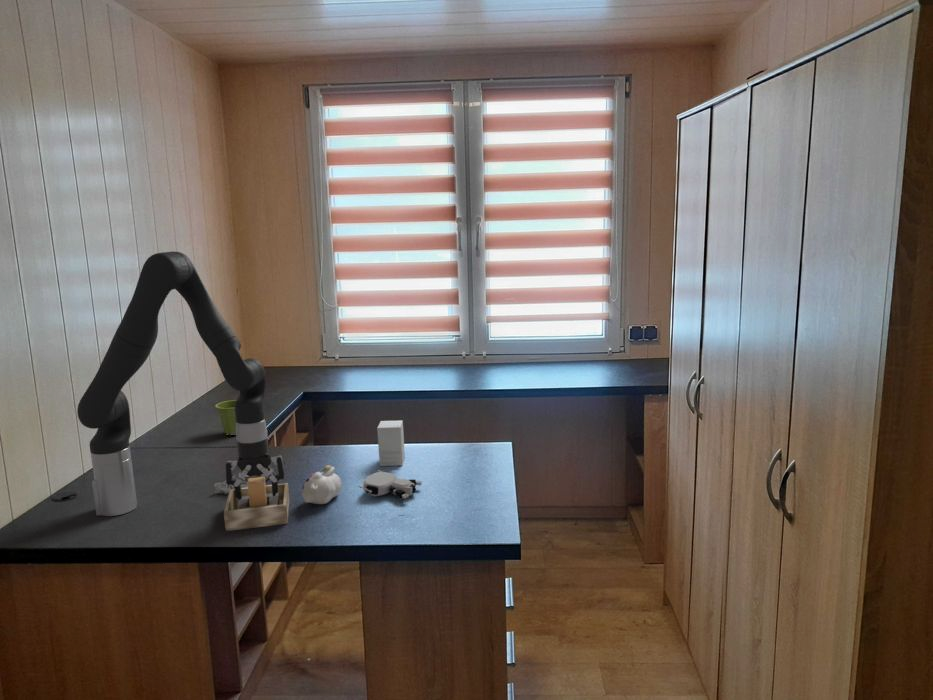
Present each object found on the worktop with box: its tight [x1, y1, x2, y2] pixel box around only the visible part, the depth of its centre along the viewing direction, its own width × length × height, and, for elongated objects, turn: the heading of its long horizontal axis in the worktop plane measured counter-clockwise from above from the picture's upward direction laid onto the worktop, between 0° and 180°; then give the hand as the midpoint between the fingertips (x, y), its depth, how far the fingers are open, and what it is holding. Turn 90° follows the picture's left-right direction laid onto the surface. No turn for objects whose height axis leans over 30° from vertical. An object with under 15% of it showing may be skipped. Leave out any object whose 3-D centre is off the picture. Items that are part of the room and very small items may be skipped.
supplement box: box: [376, 420, 406, 467], centre depth 209 cm, size 7×7×13 cm
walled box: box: [223, 482, 290, 532], centre depth 174 cm, size 15×15×5 cm
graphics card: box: [214, 468, 275, 496], centre depth 195 cm, size 17×4×12 cm
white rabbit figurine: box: [301, 464, 343, 505], centre depth 182 cm, size 10×8×15 cm
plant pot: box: [214, 399, 237, 434], centre depth 242 cm, size 12×12×11 cm
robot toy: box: [358, 469, 423, 500], centre depth 186 cm, size 12×4×15 cm
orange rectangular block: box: [248, 477, 267, 507], centre depth 174 cm, size 4×4×9 cm
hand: (257, 496), depth 174 cm, fingers open, 8 cm apart
